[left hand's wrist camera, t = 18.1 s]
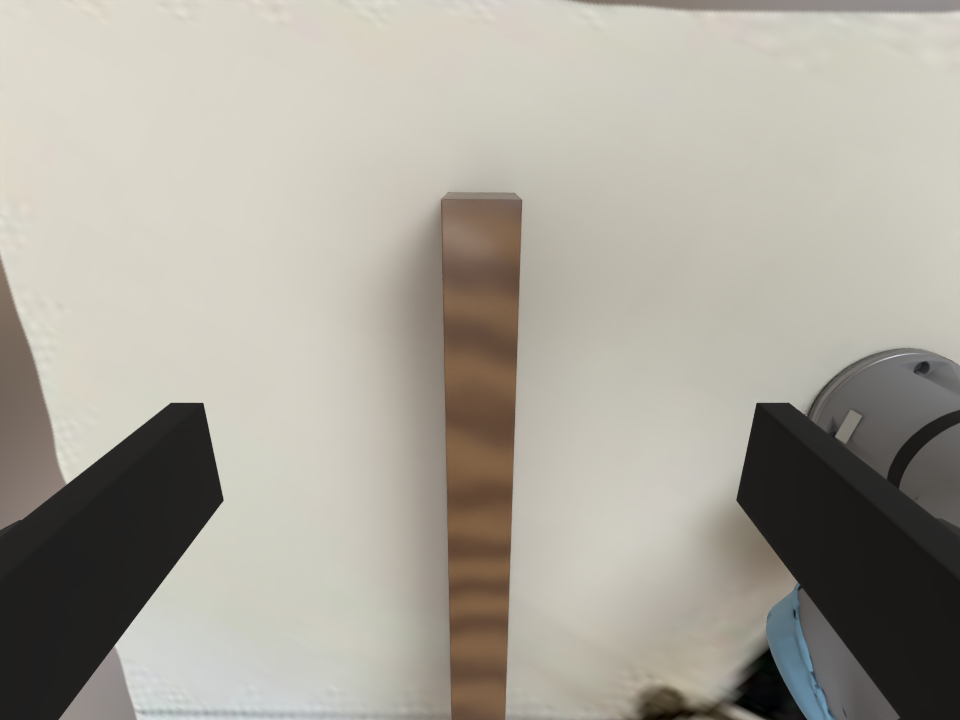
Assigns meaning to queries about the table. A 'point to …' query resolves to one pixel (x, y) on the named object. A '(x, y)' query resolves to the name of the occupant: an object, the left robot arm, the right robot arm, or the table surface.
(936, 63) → the table surface
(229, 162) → the table surface
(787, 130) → the table surface
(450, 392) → the beam
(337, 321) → the table surface
